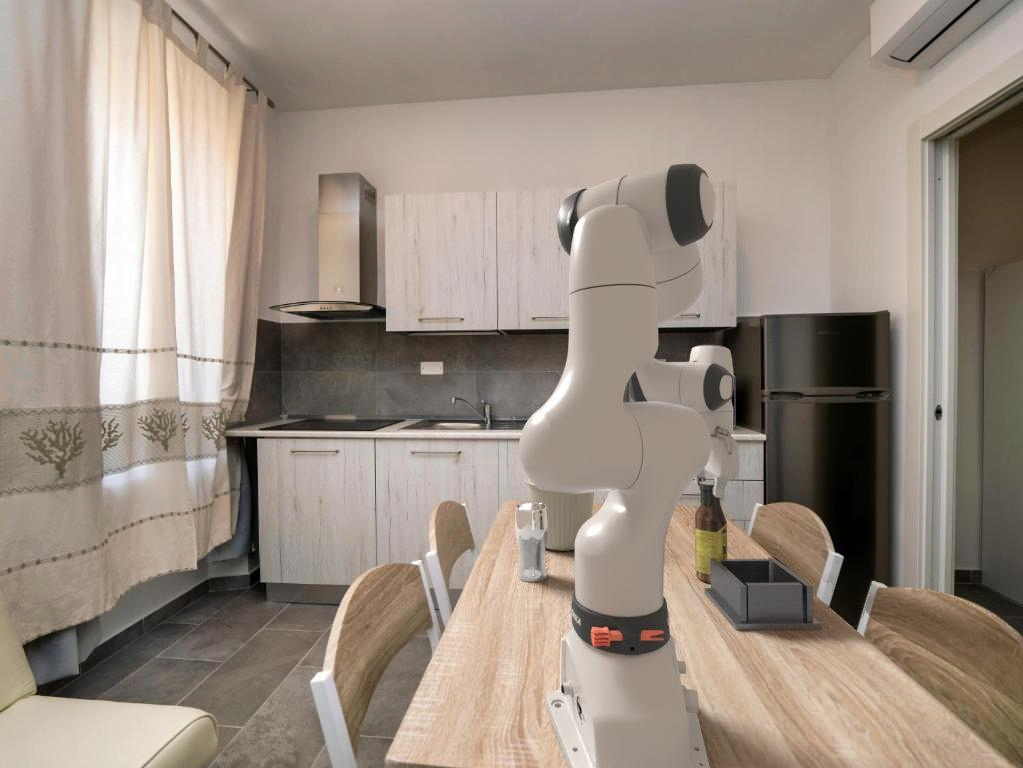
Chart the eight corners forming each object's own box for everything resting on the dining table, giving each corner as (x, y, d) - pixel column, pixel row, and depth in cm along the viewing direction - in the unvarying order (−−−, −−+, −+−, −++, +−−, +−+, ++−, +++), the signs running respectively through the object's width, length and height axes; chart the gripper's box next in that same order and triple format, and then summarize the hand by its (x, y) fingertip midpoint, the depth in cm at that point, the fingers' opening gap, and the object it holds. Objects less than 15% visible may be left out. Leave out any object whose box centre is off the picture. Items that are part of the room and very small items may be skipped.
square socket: (821, 629, 83) (820, 587, 83) (735, 630, 83) (735, 588, 83) (777, 592, 97) (777, 556, 97) (704, 593, 97) (704, 557, 97)
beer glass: (555, 575, 107) (554, 505, 106) (534, 586, 102) (533, 512, 101) (530, 567, 111) (529, 500, 111) (509, 577, 106) (508, 506, 106)
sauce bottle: (730, 586, 100) (730, 486, 100) (697, 584, 101) (697, 486, 101) (723, 573, 107) (723, 480, 106) (692, 571, 108) (692, 479, 108)
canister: (603, 557, 117) (602, 467, 117) (526, 557, 118) (524, 467, 117) (592, 532, 135) (591, 454, 135) (525, 533, 136) (524, 455, 135)
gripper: (748, 430, 93) (747, 504, 94) (706, 418, 114) (705, 479, 114) (714, 431, 93) (713, 504, 94) (678, 418, 114) (678, 479, 114)
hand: (709, 490), depth 104 cm, fingers open, 8 cm apart
